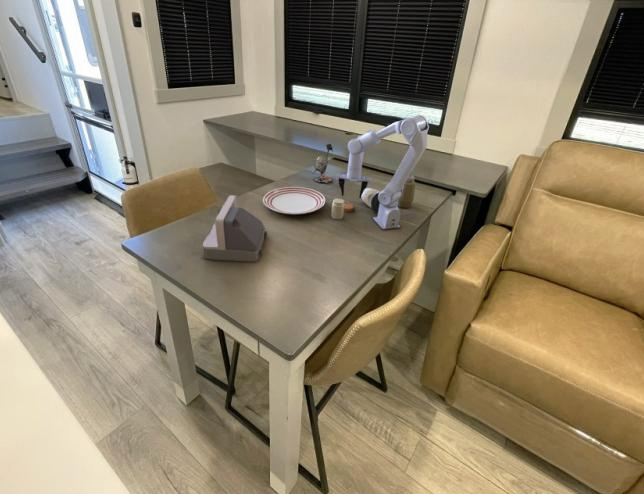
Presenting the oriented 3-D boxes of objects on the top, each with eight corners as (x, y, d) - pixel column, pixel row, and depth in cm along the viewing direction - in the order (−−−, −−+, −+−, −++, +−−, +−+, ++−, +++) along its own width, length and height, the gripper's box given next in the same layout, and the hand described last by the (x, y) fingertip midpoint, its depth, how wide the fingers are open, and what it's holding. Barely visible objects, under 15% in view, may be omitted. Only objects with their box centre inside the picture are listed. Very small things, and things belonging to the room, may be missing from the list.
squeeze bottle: (410, 202, 157) (418, 166, 148) (413, 210, 150) (421, 172, 141) (393, 200, 157) (400, 164, 148) (395, 208, 150) (402, 171, 141)
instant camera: (222, 226, 127) (218, 190, 119) (274, 233, 124) (274, 197, 117) (195, 257, 108) (189, 217, 101) (255, 267, 106) (254, 227, 99)
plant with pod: (319, 175, 180) (321, 138, 170) (334, 181, 173) (338, 144, 163) (308, 178, 175) (310, 141, 165) (324, 185, 168) (326, 146, 158)
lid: (341, 205, 149) (342, 202, 148) (353, 207, 148) (354, 204, 147) (339, 210, 144) (339, 207, 143) (351, 213, 143) (352, 209, 142)
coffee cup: (372, 206, 155) (387, 216, 141) (355, 201, 151) (370, 211, 138) (379, 188, 153) (395, 196, 139) (362, 183, 149) (378, 191, 136)
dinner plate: (252, 213, 137) (252, 206, 135) (276, 188, 161) (276, 182, 159) (316, 224, 132) (316, 217, 131) (330, 197, 156) (331, 191, 154)
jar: (345, 218, 138) (346, 202, 135) (333, 219, 137) (335, 204, 133) (340, 212, 143) (342, 197, 139) (329, 214, 141) (330, 198, 137)
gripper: (336, 168, 135) (333, 198, 142) (372, 172, 134) (367, 202, 140) (338, 162, 141) (335, 191, 148) (372, 166, 140) (368, 195, 147)
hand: (351, 196), depth 145 cm, fingers open, 7 cm apart
